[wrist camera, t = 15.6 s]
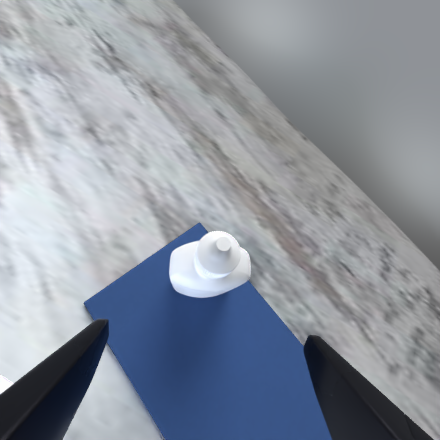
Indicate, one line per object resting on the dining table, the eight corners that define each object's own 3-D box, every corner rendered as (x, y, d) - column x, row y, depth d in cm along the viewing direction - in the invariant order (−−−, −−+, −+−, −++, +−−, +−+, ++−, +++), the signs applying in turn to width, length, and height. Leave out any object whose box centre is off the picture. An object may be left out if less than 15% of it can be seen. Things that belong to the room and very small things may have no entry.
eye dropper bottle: (216, 315, 19) (259, 320, 8) (165, 285, 20) (143, 253, 9) (236, 274, 21) (291, 235, 10) (189, 247, 21) (195, 182, 11)
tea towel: (425, 494, 17) (430, 498, 16) (342, 730, 12) (347, 743, 11) (199, 223, 23) (199, 222, 23) (85, 302, 18) (83, 302, 18)
